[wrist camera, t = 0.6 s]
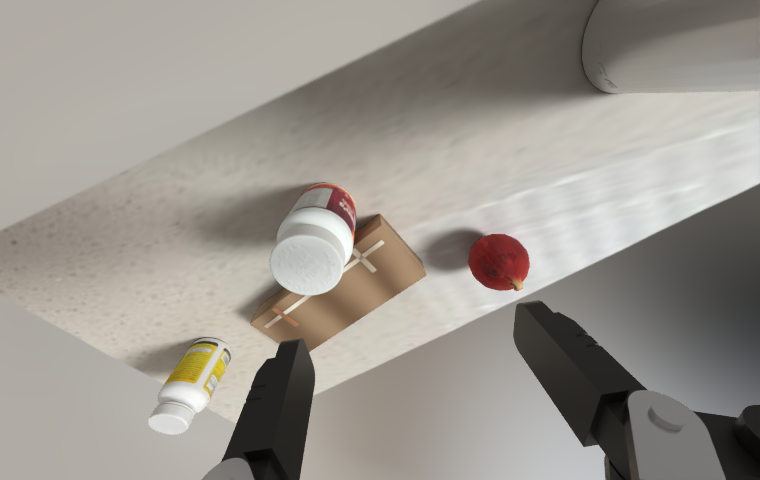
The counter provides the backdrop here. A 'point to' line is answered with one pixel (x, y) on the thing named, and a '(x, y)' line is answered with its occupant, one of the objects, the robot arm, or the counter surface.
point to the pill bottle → (315, 240)
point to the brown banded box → (344, 289)
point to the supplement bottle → (190, 386)
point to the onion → (499, 262)
